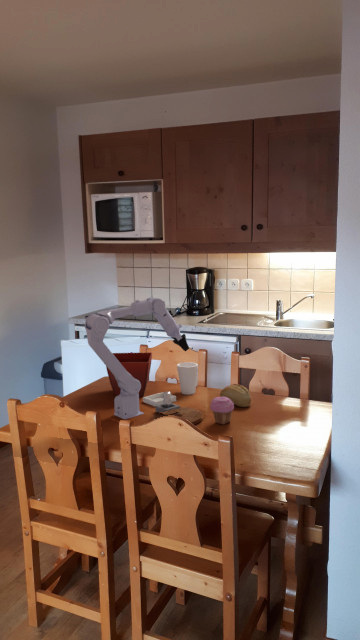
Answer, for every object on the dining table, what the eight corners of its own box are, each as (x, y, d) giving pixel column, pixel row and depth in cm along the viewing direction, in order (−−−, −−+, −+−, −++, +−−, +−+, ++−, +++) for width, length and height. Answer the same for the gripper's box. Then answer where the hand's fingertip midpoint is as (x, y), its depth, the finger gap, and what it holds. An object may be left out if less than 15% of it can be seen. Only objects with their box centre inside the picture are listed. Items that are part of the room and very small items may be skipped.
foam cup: (199, 389, 237) (198, 362, 235) (197, 395, 228) (197, 367, 226) (178, 389, 238) (178, 362, 236) (176, 395, 229) (175, 367, 227)
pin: (167, 413, 204) (166, 394, 203) (162, 411, 206) (161, 392, 205) (173, 411, 206) (172, 392, 205) (168, 410, 208) (167, 391, 207)
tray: (155, 407, 213) (155, 402, 213) (143, 402, 220) (142, 397, 219) (176, 401, 220) (176, 396, 220) (163, 397, 227) (163, 392, 226)
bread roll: (229, 397, 224) (229, 379, 223) (257, 404, 214) (256, 386, 212) (214, 402, 218) (214, 384, 217) (242, 410, 207) (242, 391, 206)
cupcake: (224, 428, 188) (224, 402, 186) (206, 423, 193) (205, 397, 192) (238, 421, 194) (238, 396, 193) (220, 416, 200) (219, 392, 199)
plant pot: (150, 399, 225) (148, 361, 222) (106, 399, 225) (105, 362, 223) (153, 386, 244) (152, 352, 241) (113, 387, 244) (111, 353, 242)
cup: (166, 417, 201) (166, 409, 201) (155, 412, 207) (155, 405, 206) (180, 412, 206) (179, 405, 205) (169, 408, 211) (168, 401, 211)
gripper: (180, 321, 202) (197, 346, 208) (170, 311, 216) (186, 335, 221) (165, 332, 202) (183, 357, 207) (156, 321, 215) (173, 345, 221)
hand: (184, 346), depth 214 cm, fingers open, 7 cm apart
